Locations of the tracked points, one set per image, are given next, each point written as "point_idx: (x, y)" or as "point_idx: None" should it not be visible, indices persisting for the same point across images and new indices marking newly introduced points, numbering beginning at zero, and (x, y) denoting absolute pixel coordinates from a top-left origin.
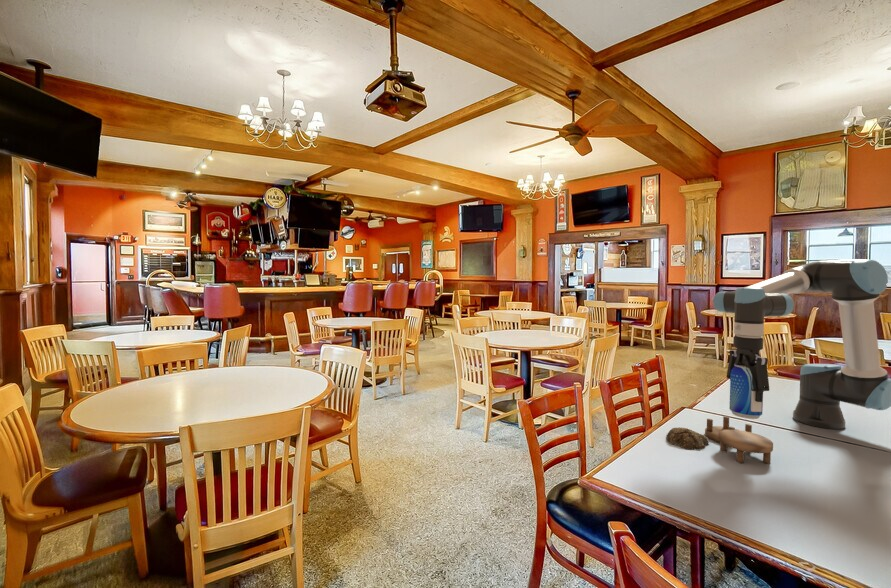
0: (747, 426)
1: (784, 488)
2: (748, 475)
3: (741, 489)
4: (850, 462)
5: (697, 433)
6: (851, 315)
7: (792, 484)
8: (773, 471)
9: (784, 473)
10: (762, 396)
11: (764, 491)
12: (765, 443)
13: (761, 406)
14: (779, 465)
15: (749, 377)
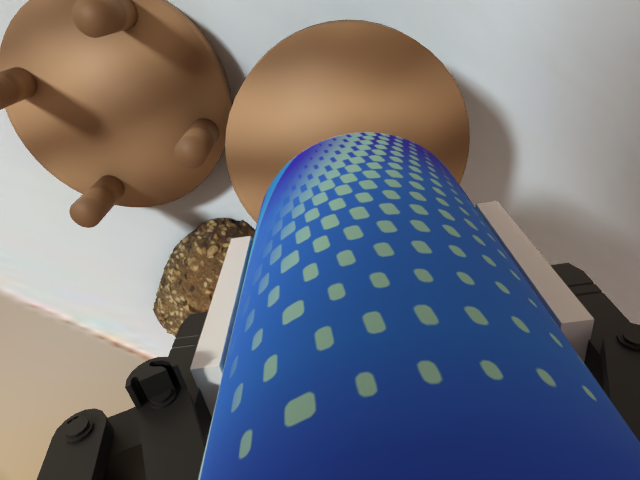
0: (110, 31)
1: (623, 118)
2: (517, 195)
3: (609, 260)
4: None
5: (215, 273)
6: None
7: (598, 64)
8: (484, 77)
9: (502, 36)
10: (607, 301)
11: (631, 199)
12: (414, 84)
13: (514, 224)
14: (421, 8)
15: None
